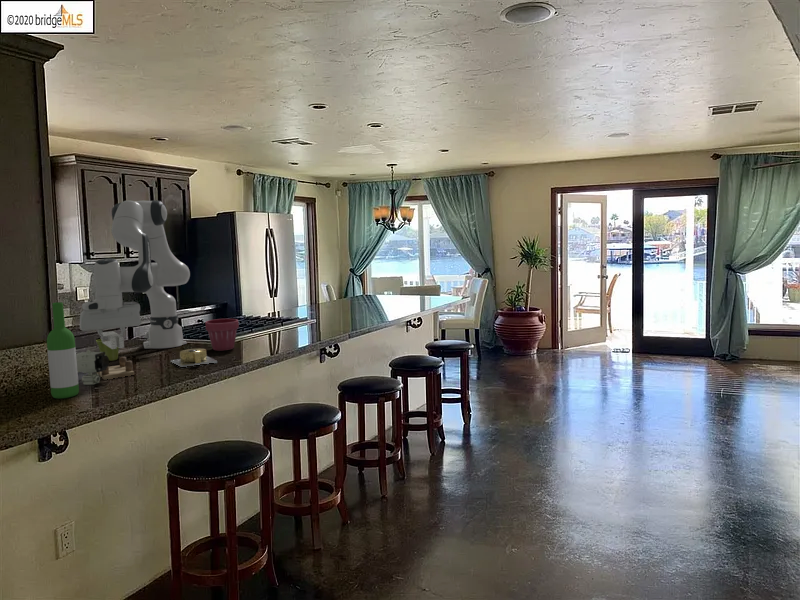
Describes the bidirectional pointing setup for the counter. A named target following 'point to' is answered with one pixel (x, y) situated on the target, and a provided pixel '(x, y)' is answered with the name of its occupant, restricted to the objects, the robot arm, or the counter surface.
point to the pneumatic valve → (91, 365)
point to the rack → (118, 370)
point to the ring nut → (193, 355)
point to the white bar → (113, 340)
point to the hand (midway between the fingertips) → (112, 340)
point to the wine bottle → (62, 357)
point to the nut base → (185, 364)
